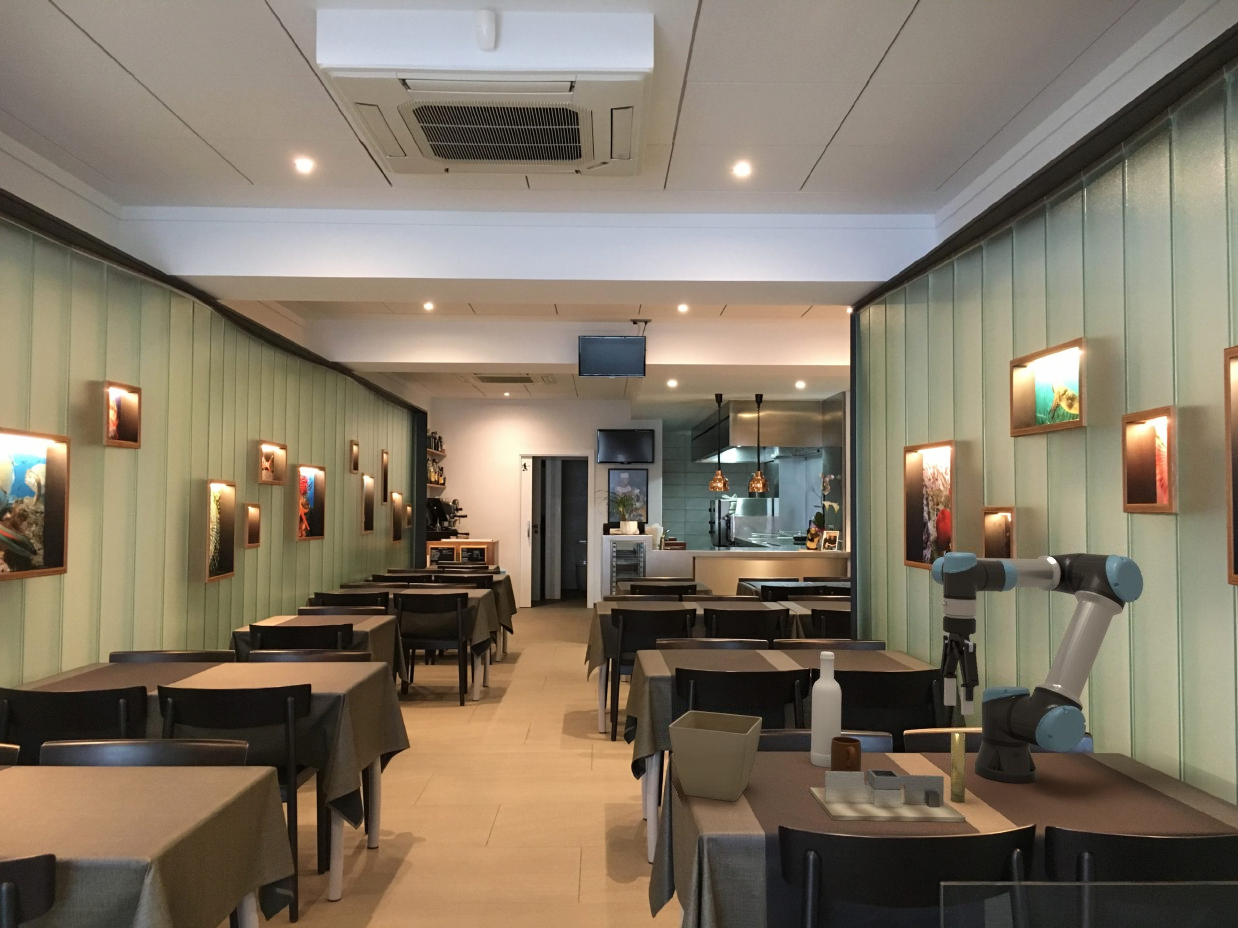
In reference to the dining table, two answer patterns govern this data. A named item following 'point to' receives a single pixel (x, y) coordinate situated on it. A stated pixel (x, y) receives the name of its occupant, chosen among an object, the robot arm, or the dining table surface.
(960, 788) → the pin
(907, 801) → the square frame with bar
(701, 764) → the flower pot
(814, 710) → the bottle
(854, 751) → the mug
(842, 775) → the hinge base
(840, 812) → the board
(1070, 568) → the robot arm
